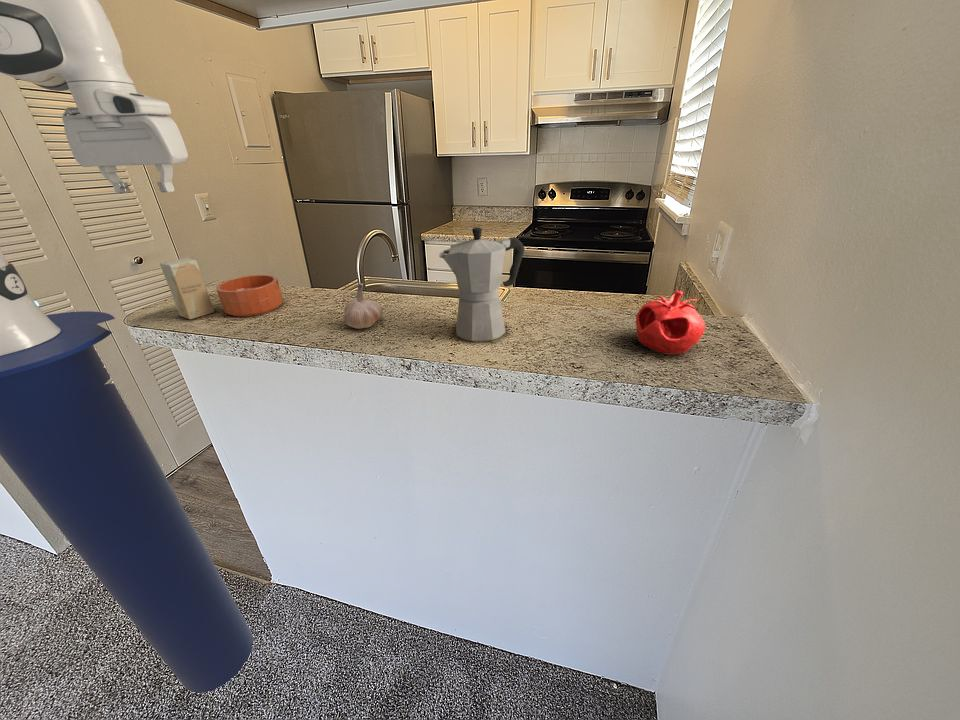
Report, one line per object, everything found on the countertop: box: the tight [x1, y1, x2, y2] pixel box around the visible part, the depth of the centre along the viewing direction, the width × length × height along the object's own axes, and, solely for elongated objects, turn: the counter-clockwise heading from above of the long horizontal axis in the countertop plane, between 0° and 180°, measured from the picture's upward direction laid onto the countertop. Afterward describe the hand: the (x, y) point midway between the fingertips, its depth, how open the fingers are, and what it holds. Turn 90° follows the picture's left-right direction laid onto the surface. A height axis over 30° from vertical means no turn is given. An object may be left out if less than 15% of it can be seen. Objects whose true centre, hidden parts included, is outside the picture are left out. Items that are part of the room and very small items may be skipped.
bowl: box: [215, 274, 284, 317], centre depth 85 cm, size 11×11×6 cm
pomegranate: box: [635, 290, 706, 355], centre depth 63 cm, size 10×10×9 cm
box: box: [159, 257, 215, 320], centre depth 82 cm, size 5×4×11 cm
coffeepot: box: [438, 226, 525, 343], centre depth 68 cm, size 15×9×18 cm, turn 117°
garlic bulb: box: [343, 282, 384, 330], centre depth 75 cm, size 8×7×8 cm
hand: (145, 192), depth 75 cm, fingers open, 8 cm apart
